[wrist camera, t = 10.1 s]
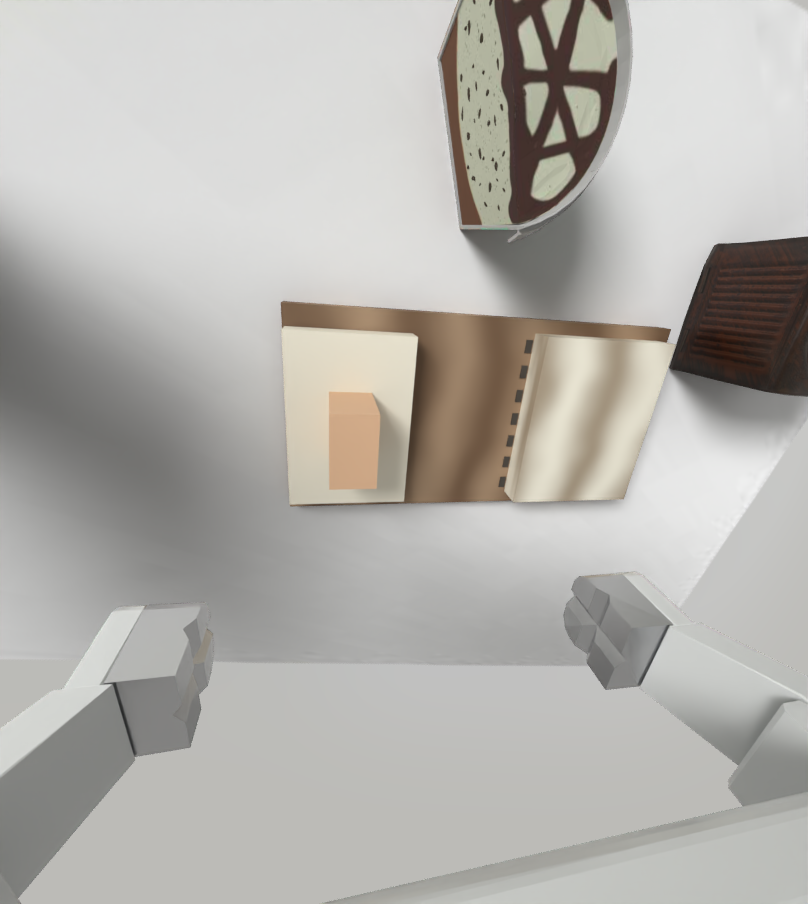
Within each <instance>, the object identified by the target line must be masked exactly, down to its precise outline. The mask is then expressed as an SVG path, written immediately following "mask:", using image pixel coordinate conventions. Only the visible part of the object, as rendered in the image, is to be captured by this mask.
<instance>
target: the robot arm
mask: <svg viewBox="0 0 808 904" xmlns="http://www.w3.org/2000/svg"><path fill="white" fill-rule="evenodd" d="M571 590H572V592H573V594H574V597H573V598H572V599H571V600H570V601H569V602H568V603H567V604H566V607H565V611H564V623H565V628H566V631H567V633H568V636H569V637H570V639H571V640H572V642H573V643H574V645H575V646H577V647H578V648H580V649H581V650H583V651H584V652H586V653H587V664H588V665H589V667H590V668H591V669H592V671H593V672H594V673H595V675H596V677H597V678H598V680H599V681H600V682H601V684H602V685H603V687H604V688H605V689H606V690H608V689H617V688H626V687H636V686H640V689H641V690H642V691H644V692H645V693H646V694H647V695H649V696H650V697H651V698H652V699H654V700H655V701H656V702H658V703H659V704H660V705H661V706H663V707H664V708H665V709H667V710H668V711H669V712H670V713H672V714H673V715H674V716H676V717H677V718H678V719H679V720H681V721H682V722H683V723H684V724H686V725H687V726H688V727H690V728H691V729H692V730H694V731H695V732H696V733H697V734H699V735H700V736H701V737H702V738H704V739H705V740H706V741H708V742H709V743H710V744H711V745H713V746H714V747H715V748H717V749H718V750H719V751H720V752H722V753H723V754H724V755H726V756H727V757H728V758H729V759H731V760H732V761H733V762H734V763H736V764H737V765H738V767H737V769H736V770H735V771H734V773H733V774H732V775H731V777H730V778H729V780H728V783H729V784H728V786H729V789H730V790H731V792H732V793H733V794H734V796H735V797H736V798H737V799H738V801H739V802H740V803H741V804H742V806H743V807H738V808H734V809H730V810H725V811H721V812H717V813H712V814H708V815H704V816H699V817H695V818H690V819H686V820H682V821H678V822H673V823H669V824H664V825H660V826H656V827H652V828H647V829H643V830H639V831H634V832H630V833H626V834H621V835H617V836H612V837H608V838H603V839H599V840H595V841H590V842H586V843H582V844H578V845H573V846H569V847H564V848H560V849H556V850H551V851H547V852H543V853H538V854H534V855H530V856H525V857H521V858H516V859H512V860H508V861H504V862H499V863H495V864H490V865H486V866H482V867H477V868H473V869H469V870H464V871H460V872H456V873H451V874H447V875H443V876H438V877H434V878H429V879H425V880H421V881H416V882H413V883H408V884H403V885H399V886H395V887H391V888H386V889H382V890H377V891H374V892H369V893H364V894H360V895H356V896H351V897H347V898H343V899H338V900H334V901H330V902H325V903H321V904H808V676H807V675H805V674H803V673H801V672H799V671H797V670H795V669H793V668H791V667H789V666H787V665H785V664H783V663H781V662H779V661H777V660H775V659H773V658H771V657H769V656H767V655H765V654H763V653H761V652H759V651H757V650H755V649H753V648H751V647H749V646H747V645H745V644H743V643H741V642H738V641H737V640H735V639H733V638H731V637H729V636H727V635H725V634H722V633H721V632H718V631H716V630H714V629H712V628H710V627H708V626H706V625H704V624H702V623H694V622H693V621H692V620H691V619H690V618H689V617H688V616H687V615H686V614H685V613H684V612H682V611H681V610H680V609H679V608H678V607H677V606H676V605H675V604H674V603H673V602H672V601H671V600H669V599H668V598H667V597H666V596H665V595H664V594H663V593H662V592H661V591H660V590H659V589H658V588H656V587H655V586H654V585H653V584H652V583H651V582H650V581H649V580H648V579H647V578H646V577H645V576H643V575H642V574H639V573H637V572H625V573H616V574H602V575H590V576H579V577H578V578H577V579H576V580H575V581H574V583H573V586H572V589H571ZM209 619H210V612H209V607H208V604H207V603H205V602H196V603H174V604H152V605H146V606H120V607H118V608H117V609H115V610H114V611H113V612H112V613H111V614H110V615H109V617H108V618H107V620H106V621H105V623H104V625H103V626H102V628H101V629H100V631H99V633H98V634H97V636H96V637H95V639H94V640H93V642H92V644H91V645H90V647H89V648H88V650H87V652H86V653H85V655H84V656H83V658H82V659H81V661H80V663H79V664H78V666H77V667H76V669H75V671H74V672H73V674H72V675H71V677H70V678H69V680H68V682H67V683H66V685H65V687H64V688H63V689H58V690H52V691H50V692H49V693H48V694H46V695H45V696H44V697H42V698H41V699H39V700H38V701H37V702H35V703H34V704H33V705H31V706H30V707H29V708H27V709H26V710H24V711H23V712H22V713H20V714H19V715H18V716H16V717H15V718H14V719H12V720H11V721H9V722H8V723H7V724H5V725H4V726H3V727H1V728H0V904H21V903H20V901H19V900H18V898H19V897H20V895H21V894H22V893H23V892H24V891H25V889H26V888H27V887H28V886H29V885H30V884H31V882H32V881H33V880H34V879H35V878H36V876H37V875H38V874H39V873H40V872H41V871H42V869H43V868H44V867H45V866H46V865H47V863H48V862H49V861H50V860H51V859H52V858H53V856H54V855H55V854H56V853H57V852H58V851H59V849H60V848H61V847H62V846H63V845H64V843H65V842H66V841H67V840H68V839H69V838H70V836H71V835H72V834H73V833H74V832H75V831H76V829H77V828H78V827H79V826H80V825H81V824H82V822H83V821H84V820H85V819H86V818H87V816H88V815H89V814H90V813H91V812H92V811H93V809H94V808H95V807H96V806H97V805H98V803H99V802H100V801H101V800H102V799H103V798H104V796H105V795H106V794H107V793H108V792H109V791H110V789H111V788H112V787H113V786H114V784H115V783H116V782H117V781H118V780H119V779H120V777H121V776H122V775H123V774H124V773H125V772H126V770H127V769H128V768H129V767H130V766H131V765H132V763H133V762H134V761H135V757H137V756H143V755H149V754H154V753H161V752H167V751H173V750H179V749H184V748H190V746H191V743H192V739H193V736H194V732H195V729H196V725H197V722H198V718H199V715H200V711H201V705H200V699H199V694H200V693H201V692H202V691H203V690H204V689H205V688H206V687H207V686H208V682H209V679H210V675H211V671H212V664H213V657H214V640H213V633H211V632H210V631H209V630H208V629H207V625H208V622H209Z"/></svg>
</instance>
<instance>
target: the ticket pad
mask: <svg viewBox="0 0 808 904" xmlns="http://www.w3.org/2000/svg"><path fill="white" fill-rule="evenodd" d="M281 315H282V328H283V327H284V326H293V327H310V328H328V329H345V330H362V331H380V332H397V333H413V334H414V335H416V336H417V337H418V344H417V355H416V367H415V379H414V390H413V402H412V414H411V425H410V437H409V448H408V460H407V472H406V483H405V495H404V502H367V503H330V504H292V505H290V506H324V505H361V504H397V503H433V502H470V501H506V500H512V501H513V502H544V501H579V500H614V499H624V496H625V493H626V490H627V487H628V484H629V481H630V478H631V475H632V472H633V470H634V467H635V464H636V461H637V458H638V455H639V452H640V449H641V446H642V443H643V440H644V437H645V434H646V431H647V428H648V425H649V422H650V420H651V417H652V414H653V411H654V408H655V405H656V402H657V399H658V396H659V393H660V390H661V387H662V384H663V381H664V378H665V375H666V372H667V370H668V367H669V364H670V361H671V358H672V355H673V352H674V349H675V346H676V345H675V344H670V343H667V340H668V337H669V334H670V331H671V329H666V328H659V327H647V326H633V325H619V324H604V323H590V322H575V321H561V320H546V319H532V318H518V317H503V316H489V315H474V314H460V313H446V312H431V311H417V310H402V309H388V308H374V307H359V306H345V305H330V304H316V303H301V302H287V301H283V302H281Z"/></svg>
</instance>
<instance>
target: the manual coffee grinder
mask: <svg viewBox="0 0 808 904" xmlns="http://www.w3.org/2000/svg"><path fill="white" fill-rule="evenodd" d="M669 368H671V369H673V370H678V371H683V372H687V373H691V374H695V375H699V376H703V377H707V378H710V379H714V380H718V381H723V382H727V383H731V384H735V385H739V386H744V387H748V388H752V389H756V390H761V391H765V392H771V393H777V394H783V395H792V396H805V397H808V237H798V238H789V239H779V240H768V241H758V242H747V243H731V244H717V245H715V246H714V247H713V249H712V251H711V253H710V255H709V257H708V259H707V261H706V263H705V265H704V267H703V270H702V272H701V275H700V278H699V280H698V283H697V286H696V289H695V291H694V294H693V297H692V300H691V303H690V305H689V308H688V311H687V314H686V317H685V319H684V322H683V326H682V329H681V332H680V335H679V338H678V342H677V345H676V348H675V351H674V354H673V358H672V361H671V364H670V367H669Z"/></svg>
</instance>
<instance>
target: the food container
mask: <svg viewBox="0 0 808 904" xmlns="http://www.w3.org/2000/svg"><path fill="white" fill-rule="evenodd" d="M632 58H633V52H632V26H631V19H630V12H629V5H628V0H458V2H457V5H456V8H455V11H454V13H453V16H452V19H451V22H450V24H449V27H448V30H447V33H446V35H445V38H444V41H443V44H442V46H441V49H440V52H439V55H438V66H439V74H440V81H441V89H442V97H443V104H444V112H445V120H446V127H447V135H448V143H449V150H450V158H451V166H452V173H453V181H454V189H455V196H456V204H457V212H458V219H459V227H460V229H488V230H517V233H516V234H515V235H513V236H512V237H511V238H510V239H508V243H511V242H513V241H516V240H519V239H522V238H525V237H526V236H528V235H530V234H532V233H534V232H536V231H538V230H539V229H541V228H542V227H544V226H545V225H546V224H548V223H549V222H550V221H552V220H553V219H554V218H556V217H557V216H558V215H560V214H561V213H562V212H564V211H565V210H566V209H567V208H568V207H569V206H570V205H571V204H572V203H573V202H574V201H575V200H576V199H577V198H578V197H579V196H580V195H581V194H582V192H583V191H584V190H585V189H586V187H587V186H588V185H589V183H590V182H591V181H592V179H593V178H594V176H595V175H596V173H597V172H598V170H599V168H600V166H601V165H602V163H603V161H604V160H605V158H606V156H607V154H608V153H609V151H610V148H611V146H612V144H613V142H614V139H615V137H616V135H617V132H618V130H619V127H620V123H621V120H622V117H623V114H624V110H625V107H626V102H627V97H628V92H629V87H630V81H631V69H632Z"/></svg>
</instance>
